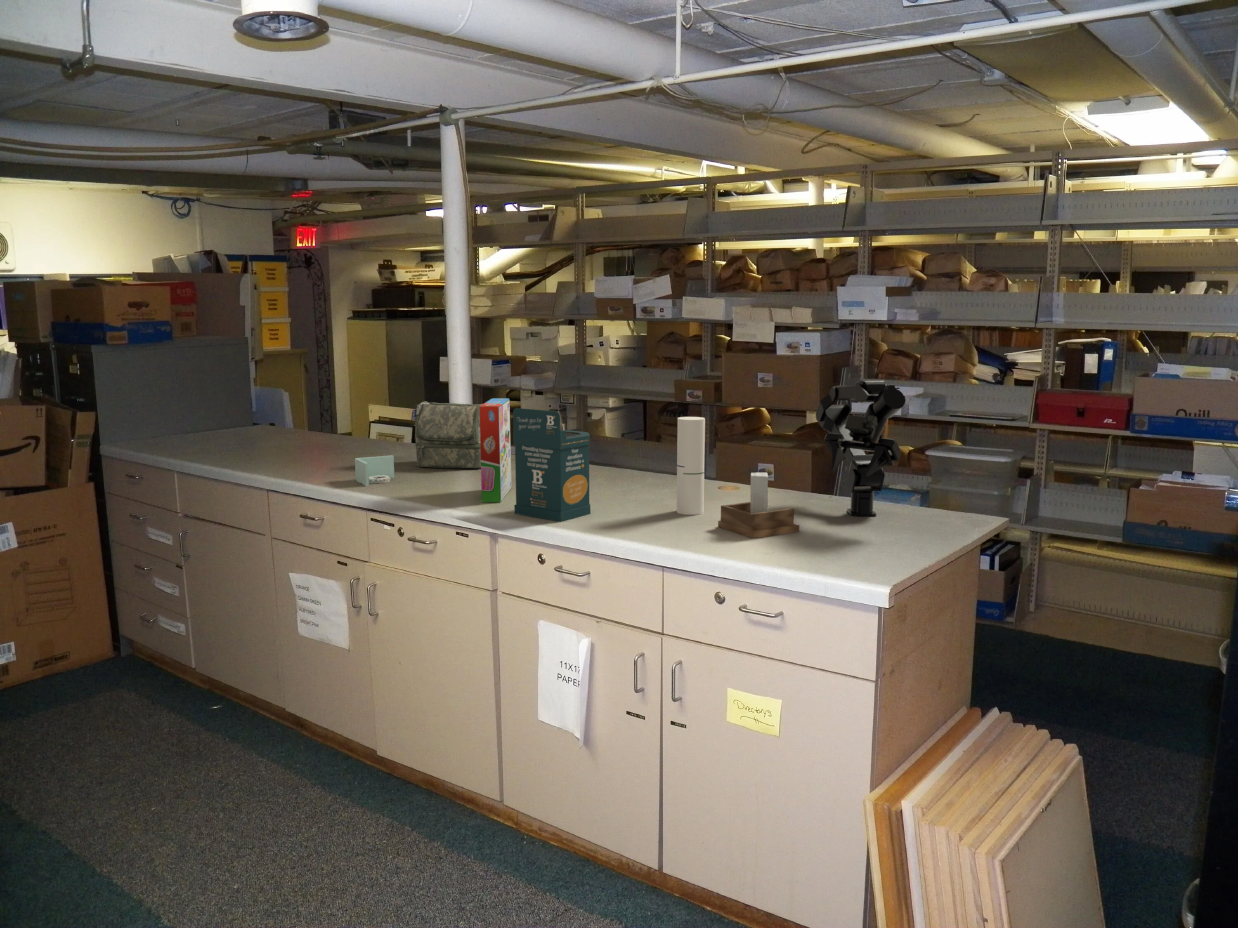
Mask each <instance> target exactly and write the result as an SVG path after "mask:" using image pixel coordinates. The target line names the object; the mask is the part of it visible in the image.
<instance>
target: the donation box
mask: <svg viewBox="0 0 1238 928" xmlns="http://www.w3.org/2000/svg"><path fill="white" fill-rule="evenodd" d="M512 417H513V418H512V419H513V420H512V421H513V423H512V426H513V427H512V429H513V430H512V431H513V432H512V434H513V435H512V437H513V438H512V440H513V445H514V453H515V454H514V458H515V459H514V462H515V504H514V505H513V506H514V507H513V508H514V509H513V510H514V514H515V515H520V516H527V517H531V518H537V519H542V520H550V521H554V522H560V523H562V522H566V521H570V520H574V519H578V518H580V517H581V518H582V517H585V516H588V515H591V504H590V445H591V435H590V433H589V432H587V431H580V430H579V431H578V430H569V429H561V426H562V425H561V422H562V421H561V419H562V418H561V414H560V412H559V411H556V410H554V411H553V410H544V409H534V408H533V409H532V408H523V407H520V408H519V407H516V408H514V409H513V410H512Z"/></svg>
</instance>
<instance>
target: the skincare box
mask: <svg viewBox="0 0 1238 928" xmlns="http://www.w3.org/2000/svg"><path fill="white" fill-rule="evenodd" d="M768 485H769V475H768V472H762V471H761V472H751V473H750V502H751V513H759V512H767V511H769V487H768Z"/></svg>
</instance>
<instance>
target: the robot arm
mask: <svg viewBox="0 0 1238 928" xmlns="http://www.w3.org/2000/svg"><path fill="white" fill-rule="evenodd" d="M851 400H855V401H856V402H857V403H868V404H869V403H870V404H869V405H868V407H867V409H866V411H865V413H864V414H863V416H860V415H851V413H852V406H851V403H850V402H851ZM836 401H838V402H839V401H845V402H844V404H834V403H835V402H836ZM855 401H854V402H855ZM905 404H906V396H905V395H904V393H903V392H902V391H901V390H899V389H898V388H896V385H895V384H886V381H885V380H884V379H861V380H858V381H856V382H855V383H854V385H834V386H832V387H831V388H830V390H829V392H828V394H827V395H825V396H824V397H823V398H822V399H821V400H820V401H819V404H818V406H817V408H816V410H815V411H816V412H815V420H816V421H817V423H818V424H819V426H820V427H821V429H823V430H825V431H827V432H828V433H826V434H825V437H824V438H823V441H824V443H825V445H826V447H827V449H828V451H829V452H830V453H831V466H830V470H831V472H832V473H835V471H836V470H837V469H838V467H839V466H840V465H841V463H842V461H843V460H844V459H846V461H847V463H848V465H849V468H848V472H847V474H846V477H845V478H844V480H843V490H844V491H846V492H849V493H850V508H847V509H846V510H847V513H849V514H850V516H857V517H858V516H863V517H864V516H867V517H868V516H869V517H870V516H872V517H873V516H875V517H876V516H877V513H876V512H875V511H874V494H875V493H874V492H882V489H883V485H884V481H885V478H886V474H885V471H884V469H883V467H884V466H886V465H888V464H892V463H893V462H898V461H899V460H900V458H901V455H902V451H901V450H902V449H901V448H900V446H899V445H898V442H897V441H896V439H895V438H888V437H884V433H883V431H884V428H885V426H886V425H887V423H888V420H889V419H891V418H892V417H894V416H895V415H896V414H897V413H898V412H899V411H900V410H901V409H902V408H903V407H904V406H905ZM865 452H874V453H873V454H866V453H865Z"/></svg>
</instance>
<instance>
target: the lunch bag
mask: <svg viewBox="0 0 1238 928" xmlns="http://www.w3.org/2000/svg"><path fill="white" fill-rule="evenodd" d="M482 404H483V403H481V404H480V403H477V404H472V403H471V404H469V403H455V402H449V403H447V402H445V403H439V402H434V401H433V402H428V401H426V400H425V401H422V402H420V403H419V404H416V405H415V409H412V410H411V411H412V412H411V417H410V418H411V419H410V421H411V422H412V421H414V422H415V423H414V426H415V427H414V440H415V442H414V443H415V444H414V445H415V451H416V452H415V453H416V462H417V463H416V466H417V467H419V468H434V469H437V468H438V469H461V470H464V469H468V470H469V469H471V470H472V469H475V470H476V469H478V470H479V469H481V448H480V410H479V407H480V406H481V405H482Z"/></svg>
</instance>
